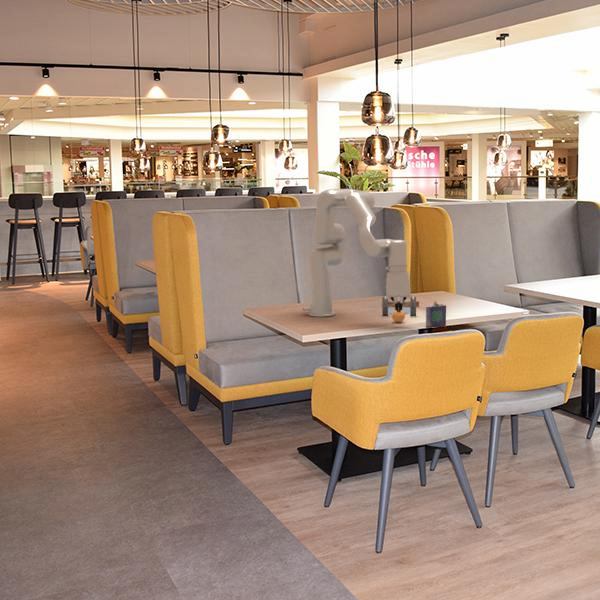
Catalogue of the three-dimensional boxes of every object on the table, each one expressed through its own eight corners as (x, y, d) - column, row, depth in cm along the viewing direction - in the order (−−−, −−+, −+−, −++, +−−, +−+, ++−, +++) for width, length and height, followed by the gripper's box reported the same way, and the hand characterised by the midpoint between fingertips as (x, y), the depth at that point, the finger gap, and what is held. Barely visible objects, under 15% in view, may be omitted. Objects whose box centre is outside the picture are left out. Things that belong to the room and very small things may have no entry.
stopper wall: (382, 306, 391) (382, 301, 391) (382, 306, 393) (382, 301, 393) (419, 306, 388) (419, 301, 388) (419, 306, 390) (419, 301, 390)
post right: (410, 316, 361) (410, 297, 360) (410, 315, 364) (410, 296, 362) (416, 316, 361) (416, 297, 360) (416, 315, 363) (416, 296, 362)
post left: (382, 316, 363) (382, 297, 362) (382, 315, 366) (382, 296, 364) (388, 316, 363) (387, 297, 361) (388, 315, 365) (388, 296, 364)
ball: (391, 323, 345) (391, 310, 344) (392, 321, 351) (392, 308, 350) (404, 323, 344) (404, 310, 344) (404, 321, 350) (404, 308, 349)
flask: (427, 327, 334) (427, 302, 332) (424, 326, 336) (424, 301, 335) (447, 326, 337) (447, 301, 335) (443, 325, 339) (443, 300, 338)
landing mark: (384, 313, 371) (384, 313, 371) (385, 308, 385) (385, 308, 385) (414, 313, 369) (414, 313, 369) (414, 308, 383) (414, 308, 383)
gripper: (379, 270, 332) (380, 313, 334) (415, 269, 330) (416, 313, 332) (380, 268, 339) (381, 311, 342) (415, 268, 337) (416, 310, 340)
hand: (398, 312), depth 337 cm, fingers closed
